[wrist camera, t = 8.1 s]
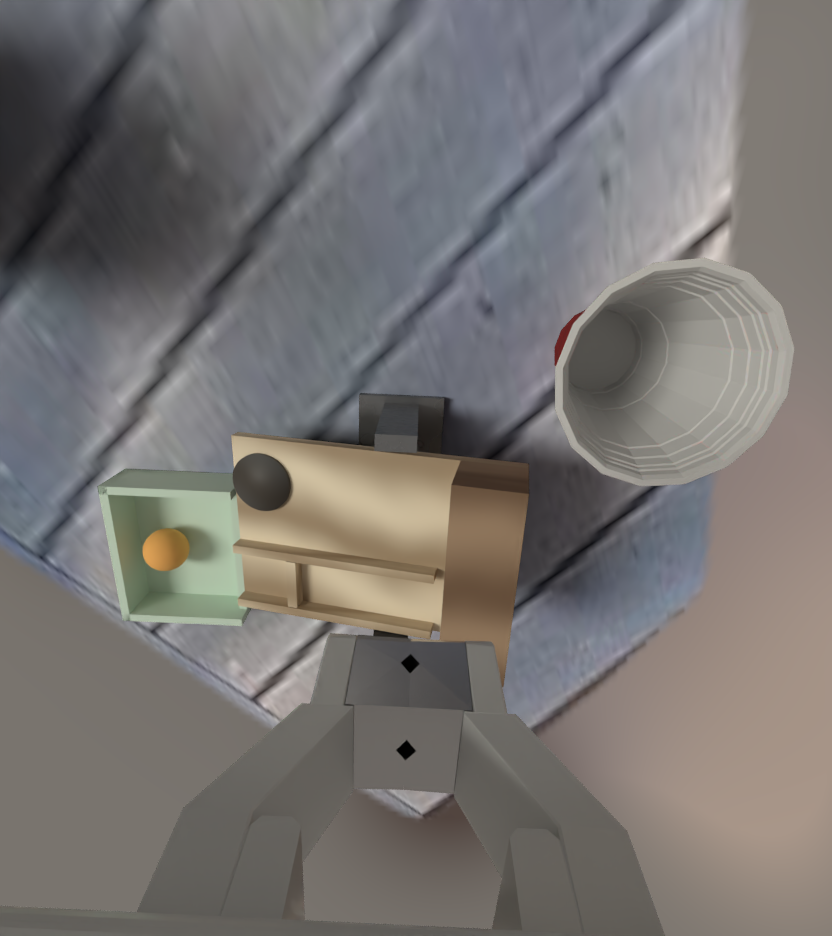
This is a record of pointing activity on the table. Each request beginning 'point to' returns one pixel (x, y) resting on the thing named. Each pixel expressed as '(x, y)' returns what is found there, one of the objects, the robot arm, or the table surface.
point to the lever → (381, 537)
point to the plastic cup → (672, 372)
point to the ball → (166, 549)
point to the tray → (207, 530)
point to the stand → (400, 430)
